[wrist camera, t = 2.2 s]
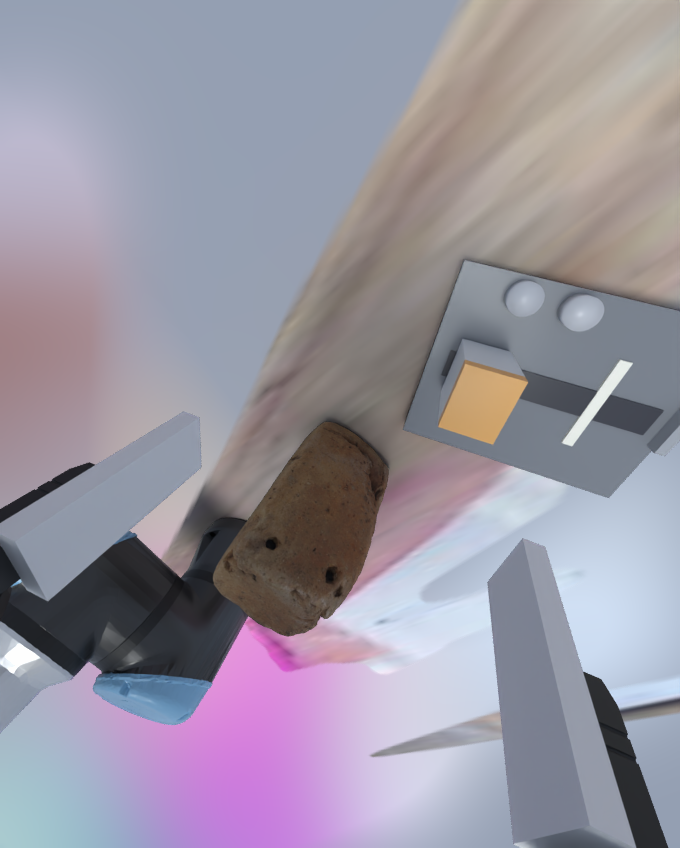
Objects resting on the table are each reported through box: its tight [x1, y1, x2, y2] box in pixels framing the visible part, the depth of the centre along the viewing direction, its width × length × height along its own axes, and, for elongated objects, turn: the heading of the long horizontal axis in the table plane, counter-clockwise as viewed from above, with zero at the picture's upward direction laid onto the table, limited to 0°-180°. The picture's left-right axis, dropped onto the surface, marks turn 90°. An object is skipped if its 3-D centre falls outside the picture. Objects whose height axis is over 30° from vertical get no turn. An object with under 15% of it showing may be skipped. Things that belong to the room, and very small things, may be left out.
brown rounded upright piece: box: [213, 422, 389, 636], centre depth 31 cm, size 11×8×20 cm
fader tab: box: [438, 339, 528, 445], centre depth 25 cm, size 4×5×7 cm
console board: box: [403, 260, 680, 498], centre depth 27 cm, size 20×16×4 cm
